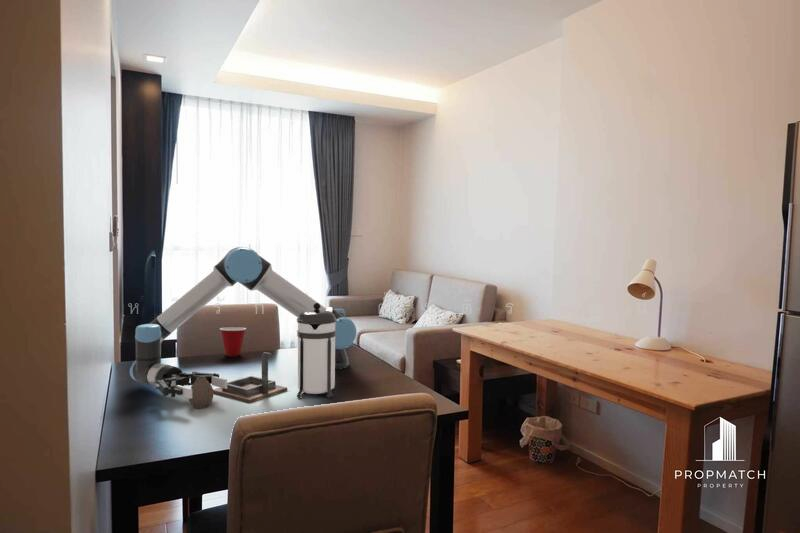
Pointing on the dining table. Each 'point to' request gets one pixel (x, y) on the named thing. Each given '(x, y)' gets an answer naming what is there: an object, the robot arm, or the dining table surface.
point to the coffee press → (316, 352)
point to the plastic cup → (233, 340)
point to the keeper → (252, 386)
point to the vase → (201, 393)
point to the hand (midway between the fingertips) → (209, 388)
